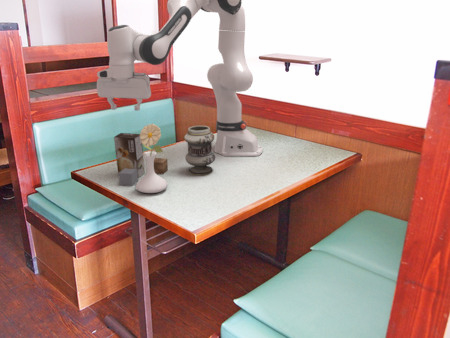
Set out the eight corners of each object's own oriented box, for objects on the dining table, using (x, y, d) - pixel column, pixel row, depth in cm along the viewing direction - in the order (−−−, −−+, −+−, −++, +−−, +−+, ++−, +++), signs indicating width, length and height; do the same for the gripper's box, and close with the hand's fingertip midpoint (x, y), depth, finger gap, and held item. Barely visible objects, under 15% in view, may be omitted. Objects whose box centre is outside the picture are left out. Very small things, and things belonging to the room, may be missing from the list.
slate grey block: (138, 181, 158) (136, 169, 157) (132, 186, 154) (131, 173, 152) (125, 180, 159) (124, 168, 158) (120, 185, 155) (118, 172, 153)
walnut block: (167, 170, 170) (167, 158, 168) (163, 174, 165) (162, 162, 164) (156, 169, 171) (155, 157, 169) (151, 173, 166) (150, 161, 164)
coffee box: (145, 172, 167) (142, 133, 162) (138, 178, 161) (135, 138, 156) (124, 170, 169) (121, 132, 164) (117, 176, 164) (113, 136, 158)
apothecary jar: (193, 164, 176) (191, 122, 170) (219, 167, 172) (219, 125, 166) (180, 174, 165) (178, 130, 159) (208, 177, 161) (207, 132, 155)
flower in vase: (129, 189, 151) (123, 122, 142) (155, 181, 158) (151, 116, 149) (150, 200, 142) (145, 129, 133) (177, 191, 149) (173, 122, 141)
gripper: (152, 71, 153) (154, 109, 157) (101, 70, 157) (104, 107, 161) (145, 74, 147) (148, 112, 151) (92, 72, 151) (96, 110, 156)
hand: (125, 109), depth 156 cm, fingers open, 8 cm apart
